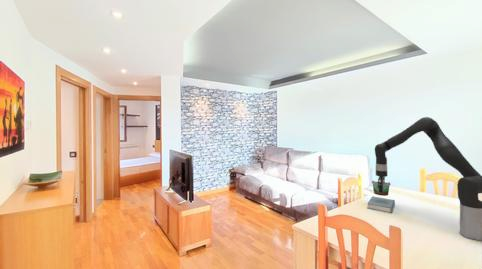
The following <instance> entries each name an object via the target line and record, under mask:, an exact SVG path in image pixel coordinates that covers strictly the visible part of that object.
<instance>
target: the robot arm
mask: <svg viewBox="0 0 482 269" xmlns="http://www.w3.org/2000/svg"><path fill="white" fill-rule="evenodd" d="M421 132H424V134H425V135H426V136H427V137H428V138H429V139H430V141H431V142H432V144H433V148H434V149H435V151H436V153H437V154H438V155H439V157H440V159H442V161H444V163H446V164H447V165H449V166H450V167H452V168H453V169H455V170H456V171H458V172H459V173H460V174H461V176H462V177H460V178H459V179H458V181H457V185H456V186H457V188H456V189H457V198H458V201H459V234H460V235H461V236H463V237H464V238H466V239H471V240H476V241H478V242H479V241H480V242H482V200H480V199H479V194H482V175H481V174H480V173H479V171H477V169H475V168H474V167H473V165H472V164H471V163H470V162H469V161H468V160H467V158H466V157H465V156H464V155H463V154H462V151H460V149H459V148H458V146H456V145H455V144H454V143H453V142H452V141H451V139H449V137H447V136H446V134H445V133H444V132H443V131H442V129H441V127H440V125H439V123H438V122H437V121H436V120H435V119H433V118H432V117H428V116H424V117H421V118H419V119H417V121H415V122H414V123H412V124H411V125H410V126H408V127H407V128H406V129H404V130H402V131H401V132H399V133H397V134H395V135H393V136H392V137H390V138H388V139H386V140H385V141H384V142H382V143H378V144H376V145H375V147H374V154H375V176H377V177H378V178H377V182H378V187H379V192H380V193H382V192H383V185H382V184H384V183H386V182H385V179H386V177H388V158H387V156H386V152H389V151H390V150H392V149H393V148H396V147H398V146H400V145H402V144H404V143H405V142H406V141H408V140H409V139H410V138H411V137H412V136H414V135H416V134H418V133H421ZM379 184H380V185H381V186H380V185H379Z"/></svg>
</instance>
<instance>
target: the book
mask: <svg viewBox="0 0 482 269" xmlns="http://www.w3.org/2000/svg"><path fill="white" fill-rule="evenodd" d="M395 206H396V200H395V199H391V198H384V197H380V196H379V197H377V196H374V195H373V196H371V197H370V199H369V200H368V202H367V210H368V209H369V210H373V211H379V212H384V213H388V214H393V210H394V208H395Z"/></svg>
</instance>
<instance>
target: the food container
mask: <svg viewBox="0 0 482 269" xmlns="http://www.w3.org/2000/svg"><path fill="white" fill-rule="evenodd" d="M371 183H372V188H373V194H374V195H377V196H384V197H385V196H389V191H390V186H391V182H390V181H389V182H385V183H384V184H382V185H383V192H382V193H380V192H379V187H378V181H375V180H371ZM379 185H380V184H379ZM380 186H381V185H380Z"/></svg>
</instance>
